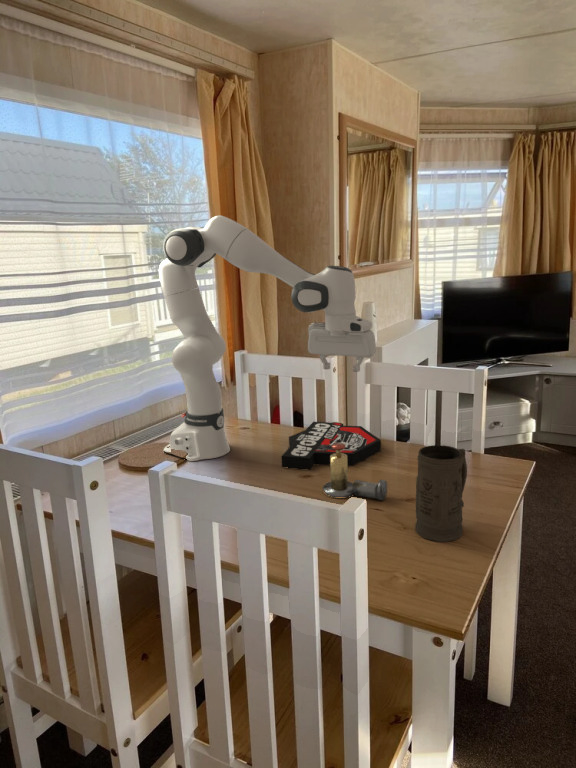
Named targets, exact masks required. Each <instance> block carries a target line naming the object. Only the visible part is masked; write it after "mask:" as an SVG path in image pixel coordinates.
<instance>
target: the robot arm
mask: <svg viewBox="0 0 576 768" xmlns="http://www.w3.org/2000/svg"><path fill="white" fill-rule="evenodd" d="M162 250H163V254H164V255H165V259H164V260H162V262H161V263H160V264H159V267H158V275H159V281H160V287H161V290H162V291H161V292H162V294H163V297H164V301H165V305H166V307H167V311H168V314H169V316H170V319H171V322H172V323H173V324H174V325H175V326H176V327H177V328H178V329H179V331H180V332H181V334H182V336H183V337H184V339H183V340H182V341H180V342H179V343H178V345H176V346H175V348H173V351H172V354H171V362H172V365H173V367H174V368H175V370H176V371H177V372H178V373H179V374H180V377H181V380H182V382H183V385H184V388H185V389H184V391H185V395H186V404H187V406H186V407H187V411H185V412H184V413H181V414H180V416H181V418H184V420H183V422H182V423H181V424H180V425H178V426H177V427H176V428H175V429H174V430H173V431H172V432H171V434H170V437H169V444H167V445H165V447H164V448H163V451H165V452H171V449H175V450H182V451H185V452H187V453H188V455H187V456H186V459H187V460H186V461H189V462H197V461H201V460H210V459H211V460H212V459H215V458H219V457H223V456H225V455H227V454H229V452H230V450H231V447H230V445H229V442H228V439H227V435H226V430H225V411H224V408H223V406H222V405H223V403H222V402H223V401H222V391H221V385H220V384H219V383H218V382H217V380H216V379H217V378H216V376H215V373H214V370H213V369H214V367H213V366H214V365H215V364H217V363H219V361H220V360H221V359H222V358H223V356H224V355H225V352H226V351H227V349H226V348H227V346H226V345H227V344H226V340H225V339H224V338H223V336H222V335H221V333H218V331H217V330H216V327H215V325H214V324H213V322H212V320H211V318H210V317H209V315H208V311H207V310H206V307H205V304H204V301H203V297H202V294H201V291H200V288H199V284H198V281H197V279H196V270H197V269H198V268H203V266H204V265H206V264H207V263H208V262H211V260H213V259H214V258H215V257H216V256H217V255H218V256H220V257H221V258H223V259H224V260H226V261H227V262H228V263H229V264H231V265H233V266H234V267H236V268H238V269H240V270H242V271H245V272H247V273H257V274H260V273H261V274H265V275H270V276H273V277H275V278H277V279H278V280H281V281H282V282H284V283H286V284H287V285H288V286H290V287H291V288H292V289H291V294H290V295H291V296H290V297H291V302H292V304H293V306H294V307H295V309H297V310H298V311H300V312H302V313H307V314H309V313H315V312H317V311H324V322H316V321H315V322H313V323H311V324H309V326H308V328H307V332H308V340H307V351H308V353H310V354H311V355H319V359H320V362H321V363H322V365H323V366H322V367H323V370H330V369H331V362H328V361H327V360H328V359H327V358H326V357H327V356H338V357H339V356H341V357H354V358H355V357H356V359H355V360H356V361H357V363H356V364H354V365H352V371H353V372H355V373H358V372H361V365H362V363H363V361H364V358H371V357H373V356H374V355H376V351H377V347H376V337H375V334H374V331H372V330H371V329H372V328H373V321H371V320H368V319H365V318H362V317H360V316H357V313H356V311H357V309H356V307H355V302H356V282H355V281H356V280H355V276H354V272H353V271H352V270H351V269H350V268H349V267H346V266H340V265H327V266H326V267H325V268H324V269H323V270H321V271H320V272H318V273H317V274H315V273H311V272H309V271H307V270H305V269H304V268H303V267H301V266H299V265H297V264H296V263H295V262H293V261H291V260H290V259H288V258H287V257H285V256H283V255H282V254H280V253H279V252H278V251H277V250H276V249H274V248H273V247H271V246H270V245H269V244H268V243H267V242H265V241H264V240H263V239H262V238H260V237H259V236H258V235H257V234H256V233H254V232H253V231H251V230H250V229H249V228H247V227H245V226H244V225H242V224H240V223H238V222H237V221H236V220H234V219H233V220H232V219H231V218H229V217H227V216H223V215H215V216H213V217H211V218H210V219H209V220H208V222H207V223H206V224H205V226H204V227H203V226H199V227H198V226H188V227H183V228H182V227H181V228H177V229H173V230H172V231H170V232H168V233H167V235H165V237H164V239H163V243H162ZM169 446H170V447H169ZM167 447H169V448H167Z"/></svg>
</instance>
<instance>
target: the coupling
mask: <svg viewBox="0 0 576 768" xmlns="http://www.w3.org/2000/svg"><path fill="white" fill-rule="evenodd" d="M322 486H323V487H322V488H323V489H322V490H323V491H324V492H325V493H326V494H327V495H330V496H332V497H349V496H350V497H349V498H352V497H353V496H352V495H354V496H358V497H364V498H368V499H373V500H374V499H375V500H377V501H385V499H386V497H387V493H388V481H387V480H385V479H379V480H378V482H371V481H365V480H360V479H355V480H354V481H353V482H351V481H348V488H347V489H346V490H343V491H336V490H333V489H331V481H328V482H326V483H325V484H324V485H322ZM323 491H322V492H323Z"/></svg>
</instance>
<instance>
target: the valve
mask: <svg viewBox="0 0 576 768" xmlns="http://www.w3.org/2000/svg"><path fill="white" fill-rule="evenodd" d="M332 449H333V450H336V453H334V454H332V455H330V465H329V466H330V467H329V468H330V469H329V471H330V482H331V489H333V490H336V491H343V490H346V489H347V488H348V482H349V476H348V472H349V471H348V467H349V466H347V455H346V454H343V453H341V450H343V449H345V444H343V443H334V444H332Z"/></svg>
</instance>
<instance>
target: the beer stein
mask: <svg viewBox="0 0 576 768" xmlns="http://www.w3.org/2000/svg"><path fill="white" fill-rule="evenodd" d="M417 453H418V454H417V458H416V459H417V476H416V478H415V479H416V480H415V481H416V482H415V519H416V522H415V526H414V528H415V533H417V534H418V535H419V536H420V537H422V538H424V539H426V540H429V541H433V542H440V543H442V542H443V543H444V542H445V543H446V542H451V541H455V540H458V539H460V538H461V537H462V536H463V531H464V530H463V508H464V507H465V506H464V505H465V503H464V501H463V493H464V490H465V485H466V483H467V477H468V476H467V475H468V464H467V460H466V458H467V457H466V449H465V448H456V447H453V446H448V445H444V444H443V445H441V444H435V445H428V446H424V447H421V448H420V449H419V451H418V452H417Z"/></svg>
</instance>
